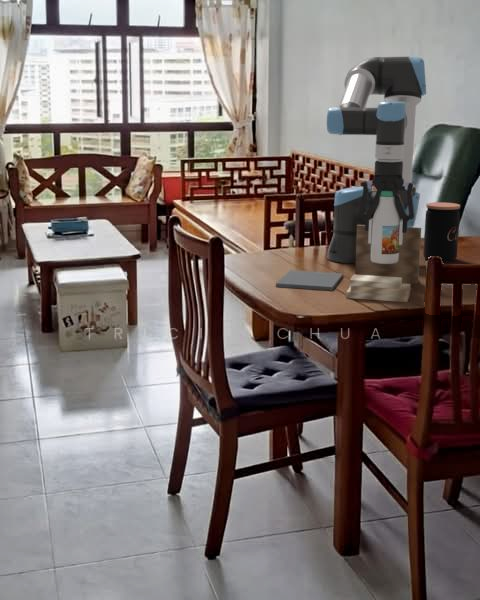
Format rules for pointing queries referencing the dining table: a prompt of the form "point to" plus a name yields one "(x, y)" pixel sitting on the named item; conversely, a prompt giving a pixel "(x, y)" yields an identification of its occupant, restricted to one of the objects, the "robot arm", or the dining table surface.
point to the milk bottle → (385, 231)
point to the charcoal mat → (310, 280)
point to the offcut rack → (385, 269)
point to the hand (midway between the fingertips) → (385, 243)
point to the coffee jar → (441, 230)
